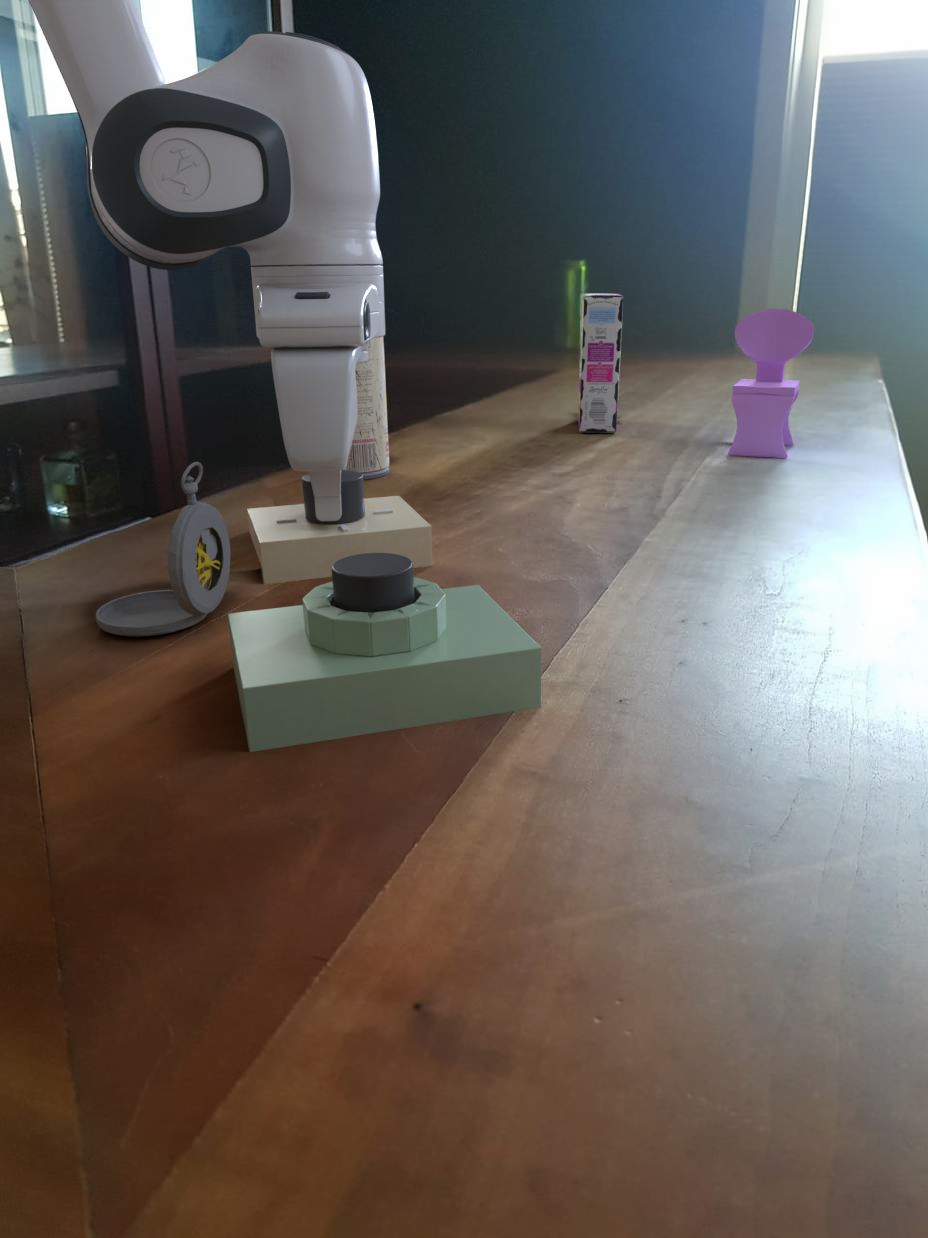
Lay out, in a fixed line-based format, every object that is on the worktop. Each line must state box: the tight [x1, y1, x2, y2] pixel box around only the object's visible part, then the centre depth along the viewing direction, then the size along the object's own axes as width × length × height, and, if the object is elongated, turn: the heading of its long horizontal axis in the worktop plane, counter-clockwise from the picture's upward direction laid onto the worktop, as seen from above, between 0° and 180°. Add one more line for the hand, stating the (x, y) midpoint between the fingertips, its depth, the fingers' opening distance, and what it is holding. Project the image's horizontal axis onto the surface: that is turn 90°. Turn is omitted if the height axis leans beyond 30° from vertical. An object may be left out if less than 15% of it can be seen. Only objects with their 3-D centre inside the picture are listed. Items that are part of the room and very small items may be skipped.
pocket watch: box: [95, 461, 231, 638], centre depth 56 cm, size 8×8×10 cm
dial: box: [301, 470, 365, 524], centre depth 69 cm, size 4×4×3 cm
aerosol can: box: [346, 336, 391, 481], centre depth 95 cm, size 7×7×20 cm
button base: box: [227, 576, 543, 753], centre depth 48 cm, size 14×10×5 cm
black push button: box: [331, 553, 415, 613], centre depth 47 cm, size 4×4×2 cm
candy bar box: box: [577, 292, 624, 434], centre depth 120 cm, size 11×5×16 cm, turn 174°
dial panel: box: [246, 495, 433, 585], centre depth 70 cm, size 12×10×3 cm
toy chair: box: [727, 308, 815, 459], centre depth 103 cm, size 8×9×15 cm
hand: (332, 509), depth 70 cm, fingers closed on dial, 4 cm apart
